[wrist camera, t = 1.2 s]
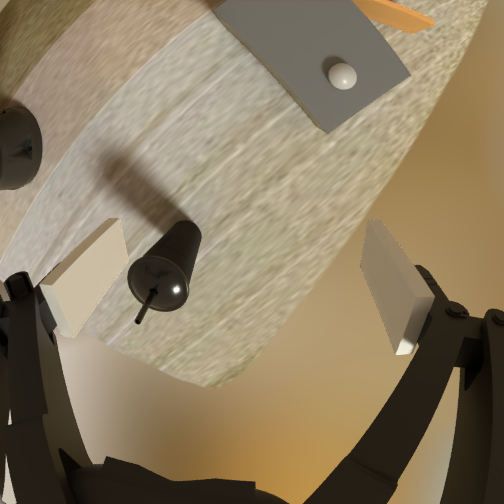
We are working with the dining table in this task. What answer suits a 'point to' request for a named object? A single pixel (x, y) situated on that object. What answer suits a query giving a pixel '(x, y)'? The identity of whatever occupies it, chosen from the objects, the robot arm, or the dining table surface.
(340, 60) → the grey box
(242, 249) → the dining table surface
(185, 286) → the drinking cup
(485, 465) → the robot arm
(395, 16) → the side door
